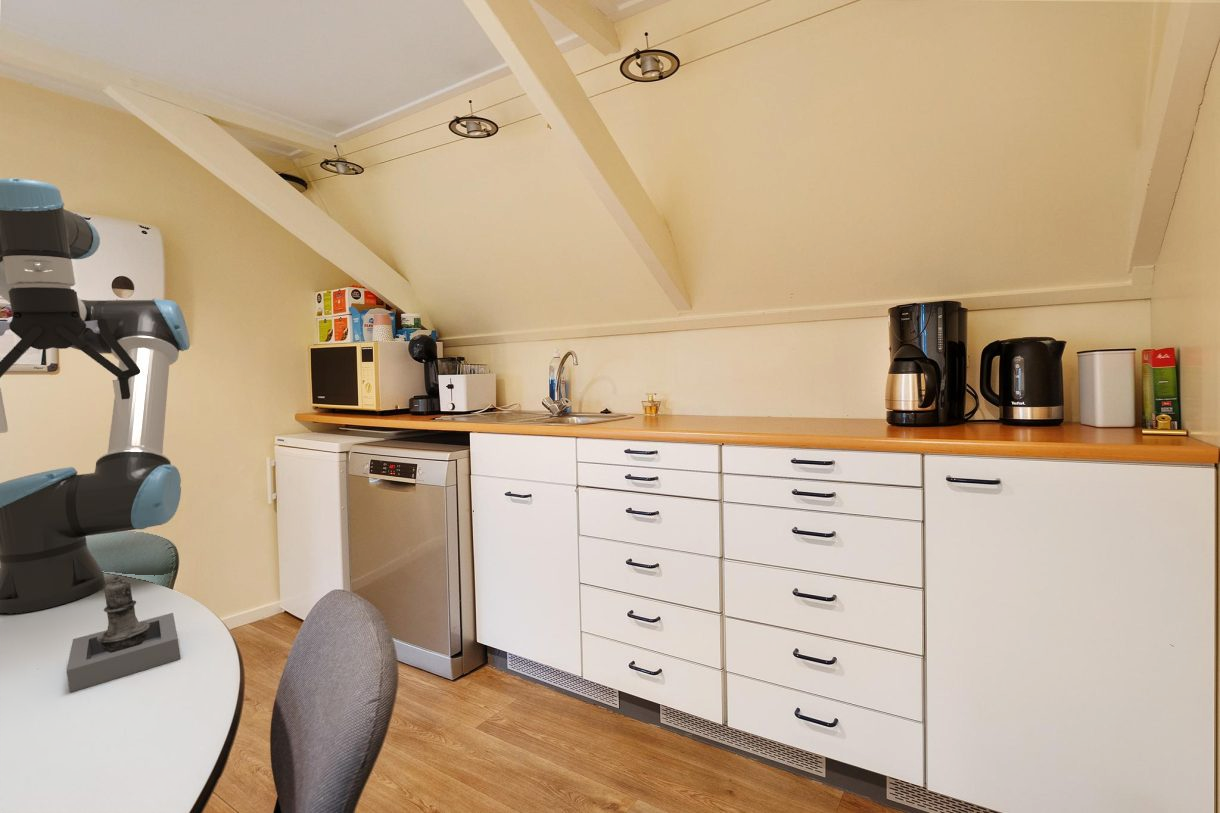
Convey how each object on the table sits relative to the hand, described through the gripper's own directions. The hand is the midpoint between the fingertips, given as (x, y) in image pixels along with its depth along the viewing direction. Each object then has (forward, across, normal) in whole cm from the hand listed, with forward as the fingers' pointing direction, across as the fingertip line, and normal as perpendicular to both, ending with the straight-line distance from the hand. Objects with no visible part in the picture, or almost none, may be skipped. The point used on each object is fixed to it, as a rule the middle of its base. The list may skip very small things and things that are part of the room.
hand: (65, 425), depth 92 cm
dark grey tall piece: (+32, +3, -19) cm, 37 cm away
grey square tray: (+32, +3, -19) cm, 38 cm away
